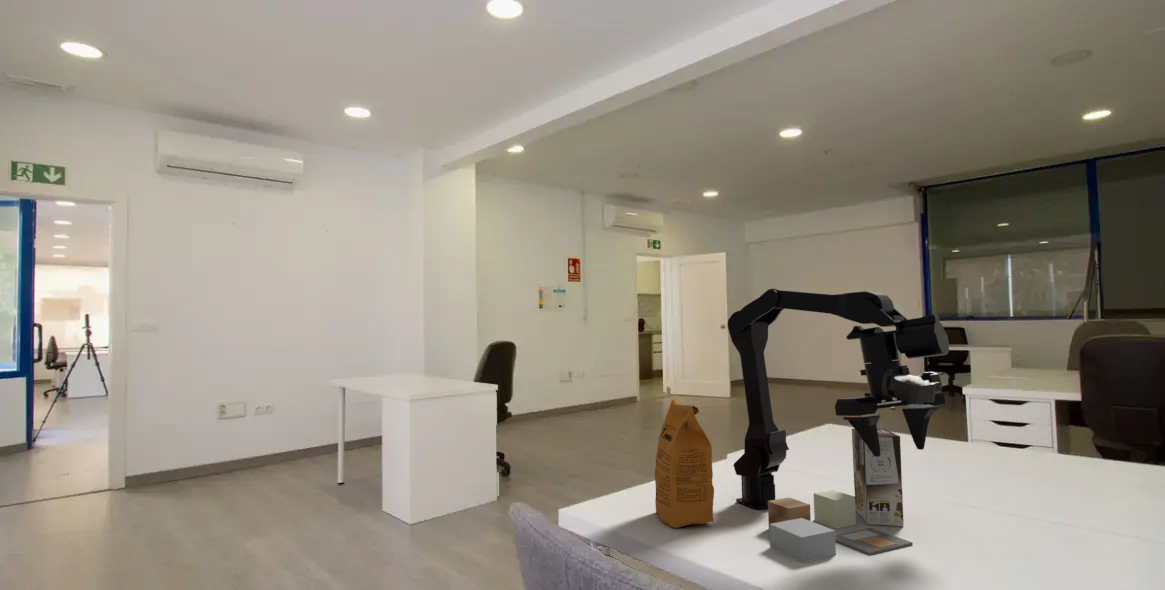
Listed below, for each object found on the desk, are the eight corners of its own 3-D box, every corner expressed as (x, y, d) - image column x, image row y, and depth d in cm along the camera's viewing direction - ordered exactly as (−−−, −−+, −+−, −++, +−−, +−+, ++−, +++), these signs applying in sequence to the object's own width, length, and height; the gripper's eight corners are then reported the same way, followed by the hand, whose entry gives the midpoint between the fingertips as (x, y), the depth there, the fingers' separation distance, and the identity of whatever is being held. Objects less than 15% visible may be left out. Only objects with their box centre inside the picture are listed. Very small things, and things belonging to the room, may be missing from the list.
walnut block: (768, 529, 104) (767, 500, 105) (790, 525, 106) (789, 497, 107) (789, 538, 100) (788, 508, 100) (811, 533, 102) (810, 504, 102)
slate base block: (770, 548, 95) (769, 523, 96) (802, 542, 98) (801, 517, 99) (802, 564, 89) (801, 537, 89) (836, 556, 92) (835, 530, 92)
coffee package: (697, 507, 117) (695, 397, 119) (720, 528, 105) (717, 405, 106) (649, 510, 116) (647, 398, 117) (666, 531, 104) (664, 406, 105)
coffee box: (905, 527, 104) (901, 436, 105) (866, 525, 106) (863, 435, 107) (889, 511, 113) (885, 427, 114) (854, 510, 115) (850, 427, 116)
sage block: (814, 520, 109) (813, 493, 109) (834, 516, 111) (833, 490, 111) (836, 528, 104) (835, 500, 105) (856, 524, 106) (855, 496, 107)
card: (829, 538, 99) (828, 535, 99) (870, 530, 103) (870, 527, 103) (869, 555, 92) (869, 551, 92) (912, 544, 96) (912, 541, 96)
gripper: (872, 363, 92) (891, 464, 90) (963, 353, 97) (984, 448, 95) (825, 368, 103) (841, 458, 100) (910, 358, 108) (927, 444, 105)
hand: (899, 452), depth 100 cm, fingers open, 9 cm apart
